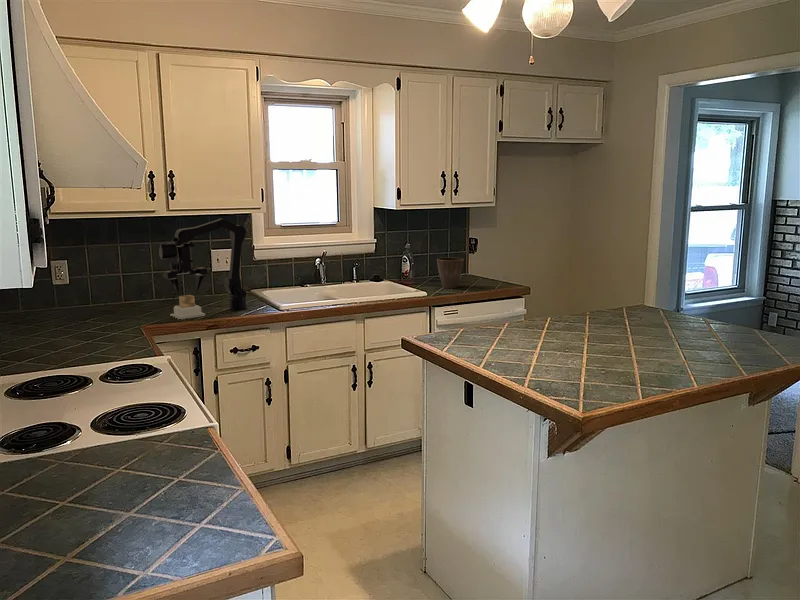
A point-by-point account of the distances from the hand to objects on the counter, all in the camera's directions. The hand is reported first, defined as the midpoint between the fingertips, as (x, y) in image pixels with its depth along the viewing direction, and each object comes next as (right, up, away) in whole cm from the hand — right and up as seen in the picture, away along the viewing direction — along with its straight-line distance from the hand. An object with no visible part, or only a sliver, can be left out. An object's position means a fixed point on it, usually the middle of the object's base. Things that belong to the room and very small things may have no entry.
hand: (187, 291), depth 289 cm
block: (0, -7, 0) cm, 7 cm away
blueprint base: (0, -11, +1) cm, 11 cm away
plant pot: (+124, +3, +67) cm, 141 cm away
